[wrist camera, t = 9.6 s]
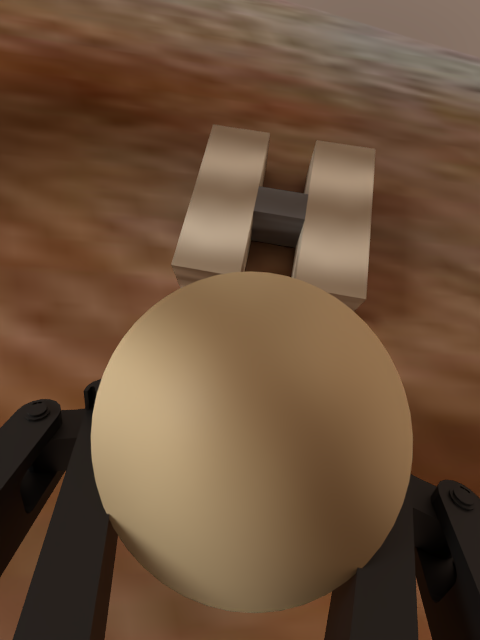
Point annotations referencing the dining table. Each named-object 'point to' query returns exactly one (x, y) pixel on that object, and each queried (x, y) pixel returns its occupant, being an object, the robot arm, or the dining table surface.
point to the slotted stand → (280, 214)
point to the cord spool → (251, 442)
